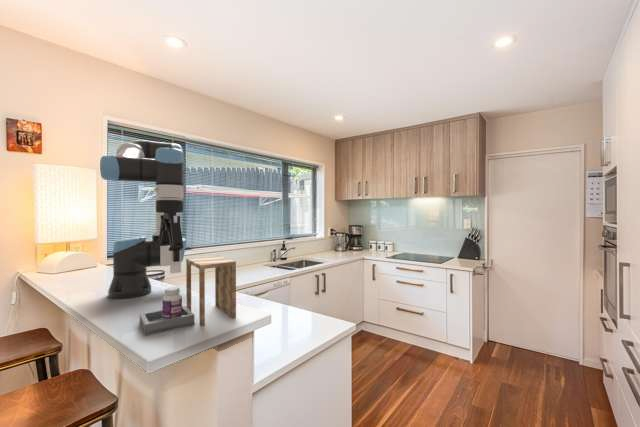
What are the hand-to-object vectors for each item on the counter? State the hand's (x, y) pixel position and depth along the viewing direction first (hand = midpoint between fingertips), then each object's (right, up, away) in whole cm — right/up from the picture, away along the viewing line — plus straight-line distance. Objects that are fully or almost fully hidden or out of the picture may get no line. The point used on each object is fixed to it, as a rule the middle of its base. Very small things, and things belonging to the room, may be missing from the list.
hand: (170, 269), depth 91 cm
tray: (-1, -17, 0) cm, 17 cm away
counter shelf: (+10, -17, +8) cm, 21 cm away
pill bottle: (+1, -16, 0) cm, 16 cm away
